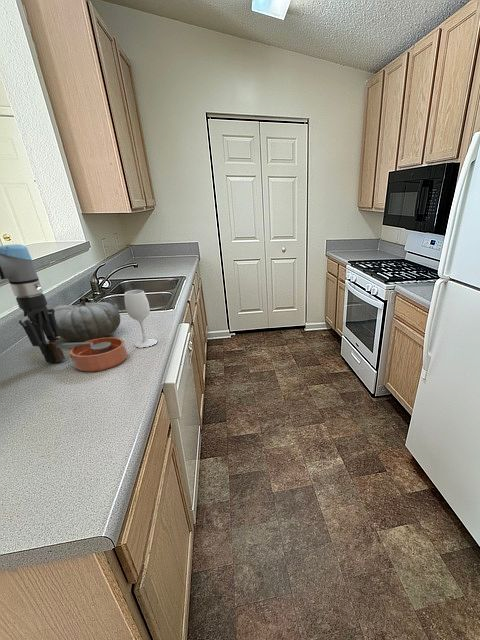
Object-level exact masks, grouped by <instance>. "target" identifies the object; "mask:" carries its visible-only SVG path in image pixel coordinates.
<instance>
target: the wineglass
mask: <svg viewBox="0 0 480 640" xmlns="http://www.w3.org/2000/svg"><path fill="white" fill-rule="evenodd" d="M123 298H124V307H125V311H126V313H127V315H128V316H129V317H130V318H131V319H133V320H135V321H137V322H139V326H140V328H141V333H142V339H140V340H138V341H136V342H135V343H134V345H133V346H134V347H135V348H137V347H138V348H137V349H144V348H143V347H146V348H150V347H149V346H151V347H153V346H152V345H154V344H156V343H157V341H158V340H157V339H155V338H148V337H147V334H146V331H145V325H144V320H145V319H147V317H149V314H150V311H151V309H150V308H151V307H150V303H149V300H148V297H147V295H146V292H145V291H144V290H143V289H132V290H128V291H125V292H124V297H123ZM157 344H158V343H157ZM157 344H156V345H157ZM154 346H155V345H154Z"/></svg>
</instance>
